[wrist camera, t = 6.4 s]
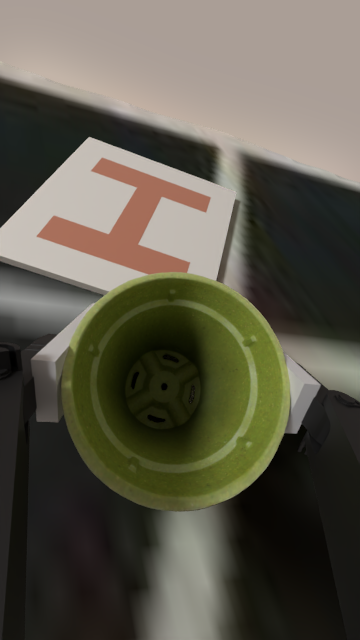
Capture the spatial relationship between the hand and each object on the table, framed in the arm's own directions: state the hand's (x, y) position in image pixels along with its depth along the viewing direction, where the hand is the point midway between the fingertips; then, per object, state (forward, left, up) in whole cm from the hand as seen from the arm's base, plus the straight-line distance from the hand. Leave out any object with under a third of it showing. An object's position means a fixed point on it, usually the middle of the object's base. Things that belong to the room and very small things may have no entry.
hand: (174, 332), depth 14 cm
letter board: (+7, -13, -4) cm, 15 cm away
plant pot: (-1, +3, -4) cm, 5 cm away
